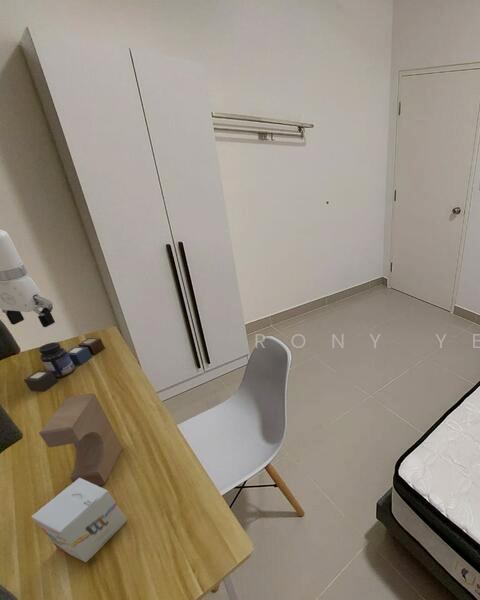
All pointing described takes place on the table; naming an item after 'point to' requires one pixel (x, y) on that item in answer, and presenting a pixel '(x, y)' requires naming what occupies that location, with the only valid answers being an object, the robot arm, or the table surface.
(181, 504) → the table surface
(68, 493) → the ink box
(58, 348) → the pill bottle
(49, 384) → the block
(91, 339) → the block
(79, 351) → the block
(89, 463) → the decorative block
